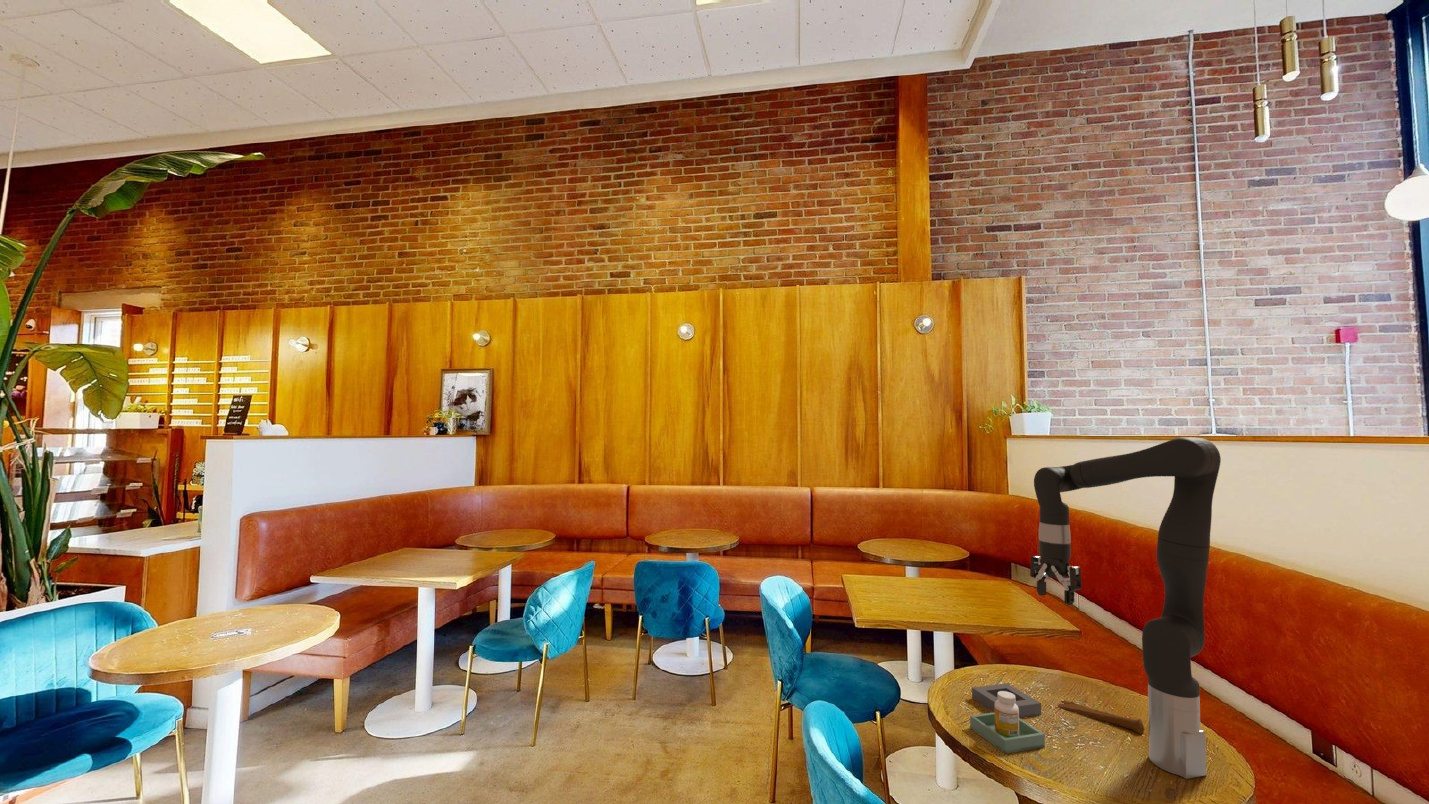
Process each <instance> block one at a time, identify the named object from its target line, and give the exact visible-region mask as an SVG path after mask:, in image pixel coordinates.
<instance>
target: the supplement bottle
mask: <svg viewBox="0 0 1429 804" xmlns="http://www.w3.org/2000/svg"><path fill="white" fill-rule="evenodd" d="M997 698H998V700H997V701H996V702H995V704H994V711H995V731H996V732H997V733H999V734H1000V735H1001V736H1003V737H1004V738H1010V737H1016V736H1019V708H1018V706H1017V705H1016V704H1015V702H1016V698H1015V695H1014V694H1012V693H1010V692H1006V691H999V692H998V693H997Z"/></svg>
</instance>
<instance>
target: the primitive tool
mask: <svg viewBox="0 0 1429 804" xmlns="http://www.w3.org/2000/svg"><path fill="white" fill-rule="evenodd" d="M1060 702H1062V703H1064V704H1059V703H1058V704H1059V705H1058V704H1057V705H1058V707H1060V708H1059V709H1061V708H1062V709H1063V710H1065V711H1068V712H1071V711H1073V713H1075V712H1077V713H1076V714H1078V713H1079V715H1082V714H1083V715H1082V716H1085V715H1086V716H1085V717H1088V716H1089V717H1088V718H1091V719H1092V718H1093V719H1096V720H1098V719H1099V720H1098V721H1102V720H1103V721H1102V722H1105V723H1109V724H1113V725H1116V726H1119V727H1121V728H1122V727H1123V728H1126V729H1129V730H1132V731H1134V732H1136V733H1137V734H1139V735H1143V733H1144V731H1145V727H1144V723H1143V721H1142V719H1141V718H1138V719H1136V718H1135V719H1134V718H1130V717H1126V716H1125V717H1124V716H1121V715H1117V714H1114V713H1109V712H1107V711H1103V710H1098V709H1094V708H1091V707H1087V706H1085V705H1082V704H1078V703H1075V702H1073V701H1069V700H1065V699H1064V700H1061V701H1060ZM1058 707H1057V708H1058ZM1062 709H1061V710H1062Z"/></svg>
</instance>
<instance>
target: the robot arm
mask: <svg viewBox="0 0 1429 804" xmlns="http://www.w3.org/2000/svg"><path fill="white" fill-rule="evenodd" d="M1221 461H1222V459H1221V453H1220V451H1219V449H1218V448H1217V446H1216V445H1215V444H1214V443H1213V442H1211V441H1210V440H1207V438H1202V437H1194V436H1193V437H1190V436H1188V437H1187V436H1186V437H1184V436H1182V437H1175V438H1172V439H1170V440H1168V441H1164V442H1162V443H1159V444H1156V445H1153V446H1151V447H1150V446H1149V447H1148V448H1144V449H1141V450H1137V451H1133V452H1129V453H1124V454H1118V455H1111V456H1105V457H1099V458H1093V459H1088V460H1083V461H1078V462H1075V463H1074V464H1069V465H1064V466H1051V467H1050V466H1047V467H1041V468H1040V469H1038V470H1037V471H1036V473H1034V474H1035V475H1034V478H1033V487H1034V492H1035V496H1036V499H1037V503H1038V507H1039V525H1038V555H1032V556H1031V557H1030V573H1029V575H1030V577H1031V578H1034V579H1035V581H1036V591H1037V595H1038V596H1047V579H1048V578H1049V577H1052V578H1054V579H1056V580H1058V581H1059V583H1060V584H1062V587H1063V588H1064V590H1063V593H1064V599H1063V601H1064V604H1065V605H1067V606H1072V605H1073V604H1074V603H1075V591H1079V590H1082V589H1083V584H1082V572H1081V569H1082V568H1081V567H1080V566H1073V565H1070V559H1071V558H1072V553H1071V552H1072V545H1071V544H1072V540H1071V539H1072V536H1071V535H1072V534H1071V529H1070V508H1069V506H1068V504H1067V503H1065V502H1063V501H1062V495H1061V493H1066V492H1072V491H1076V490H1081V489H1089V488H1090V489H1091V488H1097V487H1103V486H1111V485H1115V484H1119V483H1123V482H1127V481H1128V482H1129V481H1131V480H1136V479H1142V478H1150V477H1151V478H1153V477H1174V479H1173V481H1174V484H1173V485H1174V486H1173V493H1172V494H1173V495H1172V497H1171V501H1170V503H1169V506H1168V507H1167V509H1166V511H1165V513H1164V516H1163V517H1162V520H1161V522H1160V525H1159V528H1158V532H1157V544H1156V561H1157V562H1156V563H1157V566H1158V570H1159V572H1160V573H1159V574H1160V576H1161V579H1162V582H1163V586H1164V602H1163V608H1162V612H1161V616H1160V617H1157V618H1153V619H1150V620H1148V622H1146V623H1145V624H1144V626H1143V629H1142V633H1141V634H1142V635H1141V644H1142V648H1141V649H1142V663H1143V669H1144V672H1145V674H1146V676H1147V692H1148V693H1147V699H1148V701H1147V703H1148V704H1147V706H1148V707H1147V708H1148V713H1147V714H1148V756H1149V757H1148V758H1149V761H1151V763H1152V764H1154V765H1155V766H1156V767H1158V768H1160V769H1161V770H1163V771H1166V772H1169V773H1170V774H1173V775H1177V776H1179V777H1182V778H1184V779H1186V780H1189V779H1193V778H1199V777H1203V776H1204V777H1205V776H1207V748H1206V747H1207V745H1206V741H1207V740H1206V738H1207V737H1206V734H1207V733H1206V732H1205V730H1202V729H1201V703H1200V700H1201V697H1200V696H1201V692H1200V690H1201V689H1200V683H1199V681H1198V680H1197V679H1196V678H1195V677H1193V675H1192V664H1191V661H1192V660H1191V659H1192V658H1193V657H1195V656H1197V655H1199V654H1200V653H1201V651H1203V648H1204V646H1205V641H1206V639H1205V617H1204V601H1205V599H1204V598H1205V591H1206V585H1207V584H1206V583H1207V573H1208V566H1209V559H1210V558H1209V557H1210V546H1211V529H1212V517H1213V516H1212V515H1213V514H1212V511H1213V509H1212V508H1213V507H1212V506H1213V498H1214V492H1215V489H1216V484H1217V480H1218V476H1219V472H1220V468H1221V467H1220V466H1221Z"/></svg>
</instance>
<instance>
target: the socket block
mask: <svg viewBox="0 0 1429 804" xmlns="http://www.w3.org/2000/svg"><path fill="white" fill-rule="evenodd" d="M999 691H1006V692H1010V693H1012V694H1014V695H1015V698H1016V702H1015V704H1016V705H1017V706H1018V708H1019V718H1020V719H1022V718H1027V717H1032V716H1034V715H1035V716H1039V715H1042V702H1040V701H1039V700H1036V699H1035V698H1033V697H1031V696H1030V695H1028V694H1027V693H1025V692H1023V691H1021V690H1019V689H1018V688H1016V687H1014V686H1012V685H1010V684H1009V683H1007V682H1005V683H997V684H990V685H983V686H982V685H981V686H976V687H975V686H974V687H971V699H972V700H974V701H975V702H977V703H978V704H980V705H981V706H983V707H984V708H986V709H987V710H989V711H990V712H991V713H993V712H995V711H994V704H995V702H996V701H997V700H998V698H997V693H998V692H999Z"/></svg>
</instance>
